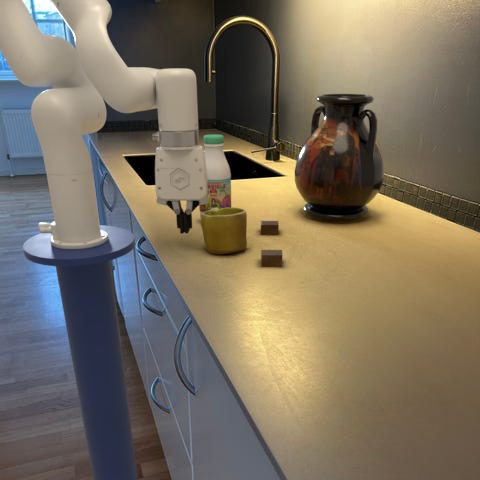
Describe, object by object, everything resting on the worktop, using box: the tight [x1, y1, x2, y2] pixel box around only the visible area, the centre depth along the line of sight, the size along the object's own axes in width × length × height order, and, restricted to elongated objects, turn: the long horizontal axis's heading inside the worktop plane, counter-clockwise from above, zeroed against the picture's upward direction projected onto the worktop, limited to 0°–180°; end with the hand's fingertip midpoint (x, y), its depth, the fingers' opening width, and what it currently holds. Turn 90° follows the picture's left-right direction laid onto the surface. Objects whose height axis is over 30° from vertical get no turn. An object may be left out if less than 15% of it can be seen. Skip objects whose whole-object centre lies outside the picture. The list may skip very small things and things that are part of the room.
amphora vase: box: [294, 93, 385, 224], centre depth 123 cm, size 22×22×28 cm
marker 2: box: [260, 249, 283, 268], centre depth 98 cm, size 4×3×2 cm
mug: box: [200, 206, 248, 255], centre depth 106 cm, size 12×10×10 cm
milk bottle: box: [198, 134, 232, 222], centre depth 121 cm, size 8×8×20 cm
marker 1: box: [260, 220, 280, 236], centre depth 116 cm, size 4×3×2 cm
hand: (185, 231), depth 107 cm, fingers closed
